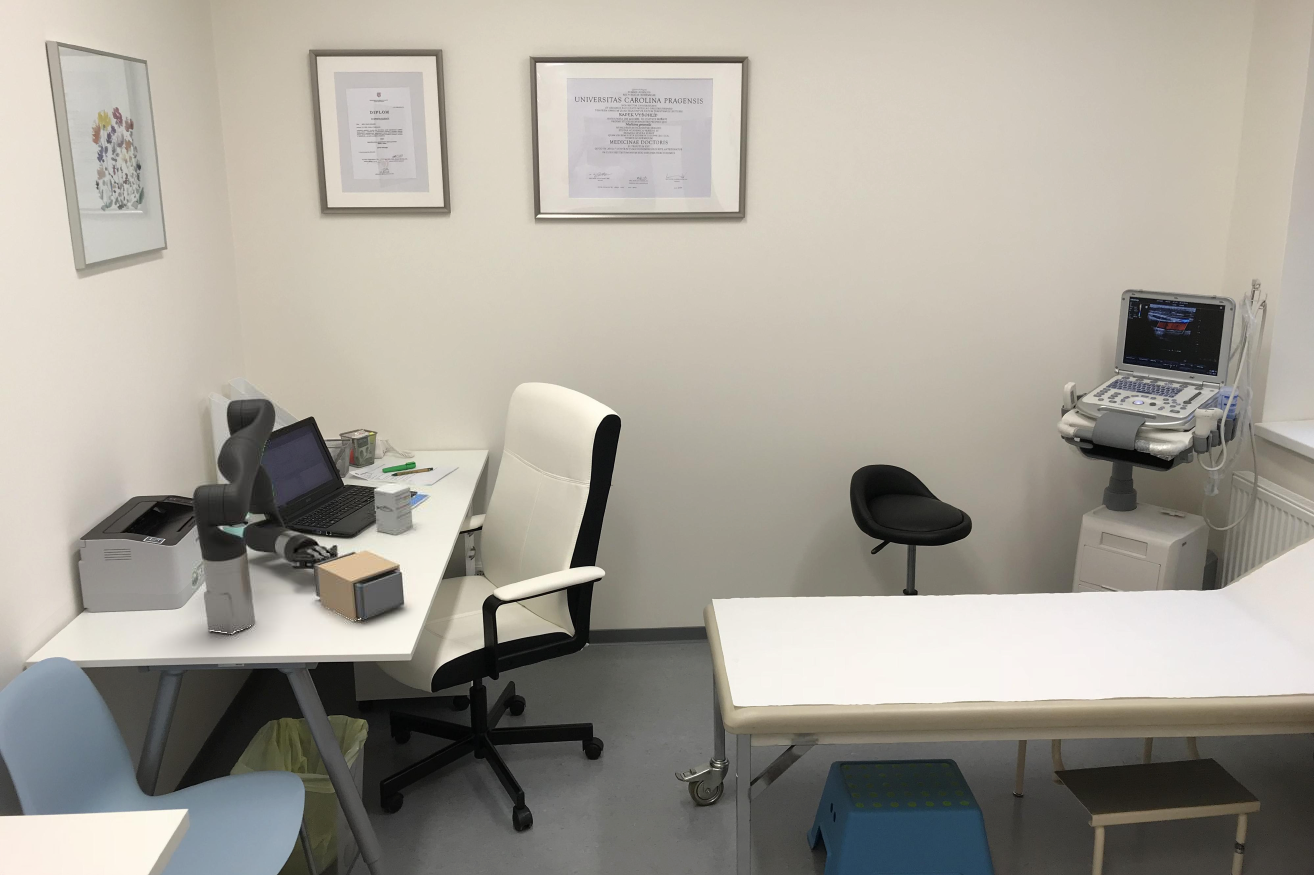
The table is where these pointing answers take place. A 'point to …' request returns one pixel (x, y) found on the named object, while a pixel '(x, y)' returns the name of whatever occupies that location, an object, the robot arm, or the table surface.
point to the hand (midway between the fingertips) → (334, 565)
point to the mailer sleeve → (348, 579)
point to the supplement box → (393, 508)
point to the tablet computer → (418, 500)
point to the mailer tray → (372, 591)
